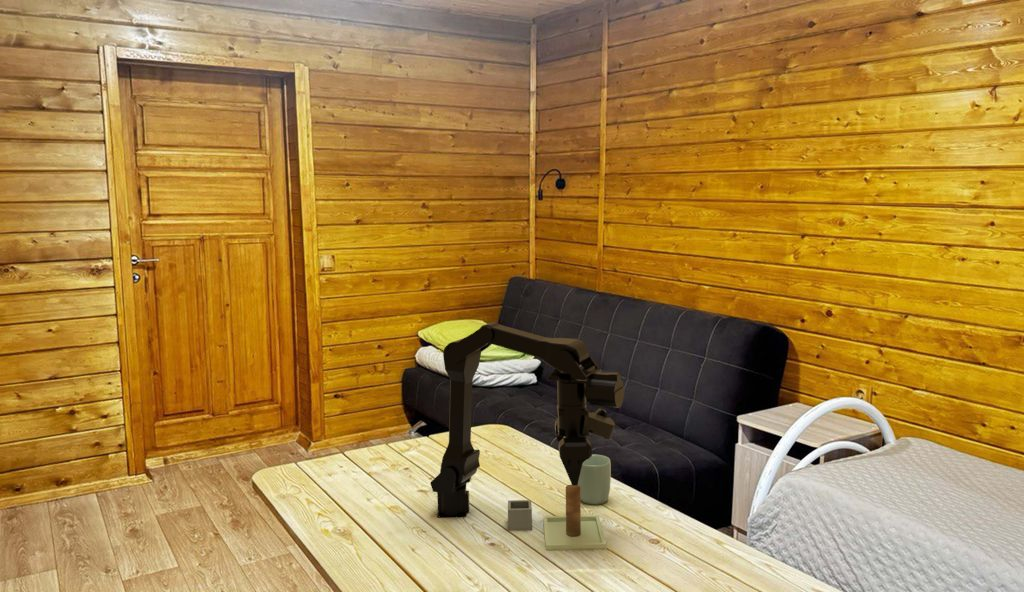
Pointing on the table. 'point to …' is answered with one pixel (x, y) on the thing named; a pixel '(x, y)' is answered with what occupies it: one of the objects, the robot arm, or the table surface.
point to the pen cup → (519, 515)
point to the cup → (595, 479)
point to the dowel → (573, 511)
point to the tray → (560, 541)
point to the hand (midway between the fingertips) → (573, 476)
